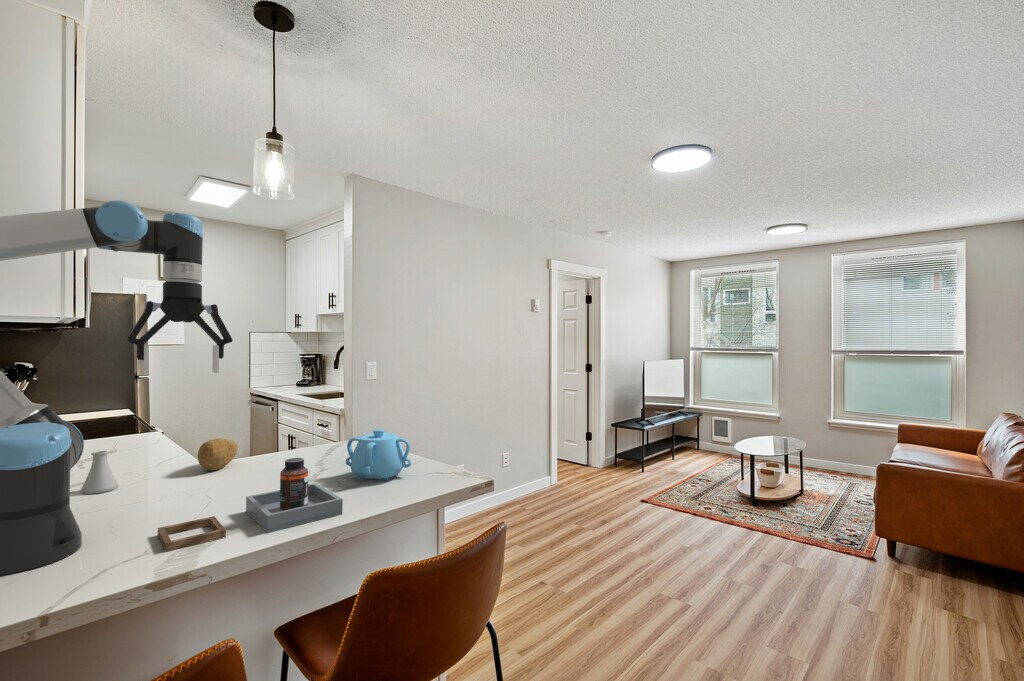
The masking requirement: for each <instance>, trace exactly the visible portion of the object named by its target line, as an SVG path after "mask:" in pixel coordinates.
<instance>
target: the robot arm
mask: <svg viewBox="0 0 1024 681" xmlns="http://www.w3.org/2000/svg"><path fill="white" fill-rule="evenodd" d="M203 238H204V236H203V222H202V220H201V219H200V218H198V217H197V216H195V215H191V214H189V213H182V212H176V213H175V212H167V213H165V214H164V215H163V219H162V220H152V219H147V217H146V216H145V215H144V212H142V210H140V208H138V207H137V206H136V205H134V204H133V203H130V202H128V201H125V200H118V199H117V200H110V201H106V202H104V203H103V204H102V205H100V206H92V207H84V208H82V207H80V208H72V209H62V210H51V211H50V210H49V211H43V212H41V211H40V212H33V213H21V214H11V215H2V216H1V215H0V262H3V261H9V260H17V259H24V258H31V257H32V258H33V257H39V256H44V255H45V256H46V255H52V254H59V253H60V254H61V253H66V252H67V253H68V252H72V251H73V252H74V251H81V250H82V251H83V250H89V249H94V248H95V249H96V248H98V249H99V250H106V251H107V250H109V251H113V252H114V253H115V252H125V253H138V254H140V253H141V254H153V255H160V256H161V255H162V257H163V258H162V261H163V262H162V279H163V280H165V281H164V282H162V300H161V302H153V301H152V300H149V301H146V302H145V305H144V310H143V313H141V315H140V317H139V318H138V320H137V321H136V323H135V324H134V325H133V327H132V329H131V331H130V332H129V334H128V335H127V336H126V339H125V341H126V342H127V343H130V344H133V345H135V346H136V359H137V361H142V375H143V376H148V375H149V352H150V351H149V350H150V349H149V345H145V344H146V343H147V342H148V341H149V340H150V339H151V338H152V337H153V336H155V334H157V333H158V332H159V331H160V330H161V329H162V328H163V327H164V326H165V325H166V324H167V323H168V322H170V321H171V322H173V323H180V322H182V323H193V322H195V324H197V325H198V326H199V328H201V330H203V332H204V333H205V334H206V335H207V336H208V337H209V338H210V339H211V340H212V341H213V342H214V343H215V345H212V373H214V374H217V373H218V374H219V372H220V366H219V365H220V364H219V363H220V362H219V361H220V359H221V360H223V358H224V354H225V353H224V352H225V351H224V350H225V348H224V347H225V345H226V344H230V343H232V342H233V337H232V336H231V334H230V332H229V330H228V329H227V327H226V325H225V323H224V322H223V320H222V318H221V316H220V314H219V308H218V305H217V304H209V305H208V304H207V305H204V303H203V285H201V284H200V283H201V282H202V281H203V242H204V241H203ZM158 309H160V310H161V311H162V313H163V314H164V315H163V316H162V317H161V318H160V319H159V320H158V321H157V322H155V324H154V325H153V326H151V327H150V328H149V329H148V330H147V331H146V332H145V333H143V335H142V336H141V337H140V338H138V337H137V336H138V335H139V334H140V332H141V330H142V329H143V328H144V326H145V325H146V323H147V321H148V320H149V318H150V316H151V315H152V313H153V312H156V311H157V310H158ZM204 311H206V313H207V314H209V315H210V317H211V319H212V320H213V323H214V324H215V326H216V328H217V330H218V332H219V333H220V335H221V337H222V338H221V337H220V336H219V335H218V333H216V332H215V330H214V329H213V328H212V327H210V325H209V324H208V323H207V322H206V321H205V320H204V318H203V317H201V314H202V313H203V312H204ZM84 442H85V441H84V437H83V434H82V432H81V430H79V428H78V427H77V426H76V425H74V424H73V423H71V422H69V421H67V420H64V419H62V418H61V416H59V415H58V414H57V413H56V412H55V410H53V409H52V408H51V407H50V406H49V405H48V404H45V403H36V402H32V401H31V400H30V399H29V398H28V397H27V396H26V395H25V394H24V393H23V392H22V391H21V390H20V389H19V388H18V387H17V386H16V385H15V383H13V382H12V381H11V380H10V379H9V378H8V377H7V375H5V374H4V373H3V372H2V371H1V370H0V576H1V575H7V574H13V573H19V572H24V571H28V570H32V569H36V568H39V567H42V566H47V565H49V564H52V563H54V562H57V561H60V560H63V559H65V558H66V557H69V556H71V555H73V554H74V553H76V552H77V551H79V549H81V548H82V544H83V541H82V540H83V537H82V536H83V535H82V531H81V529H80V526H79V525H78V522H77V521H76V520H77V519H76V518H75V516H74V513H73V511H72V509H71V504H70V503H71V499H70V498H71V497H70V496H71V493H70V492H71V490H70V489H71V470H72V468H74V467H75V465H76V464H77V463H78V462H79V461H80V459H81V457H82V456H83V452H84V448H85V447H84V446H85V443H84Z"/></svg>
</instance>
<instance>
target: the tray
mask: <svg viewBox="0 0 1024 681" xmlns="http://www.w3.org/2000/svg"><path fill="white" fill-rule="evenodd" d="M343 501H344V500H343V498H341V497H340V496H338V495H337V494H335V493H333V492H331V491H330V490H329V489H327V488H325V487H323V486H321V485H320V484H319V483H316V482H313V483H308V505H307V506H302V507H298V508H293V509H289V510H284V511H282V510H281V509H280V489H278V490H273V491H269V492H263V493H257V494H253V495H247V496H246V497H245V513H247V514H248V515H249V516H250V517H251V518H252V520H254V522H256V523H257V524H258V525H259V526H260V527H261V528H263V530H264V531H265V532H267V533H273V532H276V531H280V530H284V529H288V528H293V527H296V526H297V527H298V526H301V525H304V524H309V523H312V522H317V521H320V520H324V519H329V518H332V517H336V516H341V515H343Z"/></svg>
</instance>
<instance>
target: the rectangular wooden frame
mask: <svg viewBox="0 0 1024 681" xmlns="http://www.w3.org/2000/svg"><path fill="white" fill-rule="evenodd" d="M204 527H211V529H212V531H208V532H203V533H199V534H195V535H190V536H186V537H181V538H178V539H177V538H176V539H172V540H171V538H170V536H169V535H172V534H177V533H183V532H187V531H192V530H197V529H201V528H204ZM226 533H227V531H226V528H225V527H224V525H222V523H221V522H220V521H219V520H218V518H217V517H216V516H213V515H212V516H209V517H203V518H200V519H194V520H189V521H184V522H179V523H175V524H169V525H166V526H165V525H164V526H161V527H160V526H159V527H157V537H158V539H159V541H160V543H161V545H162V548H163V550H164V552H165V553H166V552H170V551H175V550H178V549H183V548H187V547H191V546H196V545H200V544H204V543H208V542H211V541H210V540H213V541H215V540H214V539H217V540H219V539H218V538H221V539H223V537H225V538H226V537H227V534H226ZM207 541H208V542H207Z"/></svg>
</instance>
